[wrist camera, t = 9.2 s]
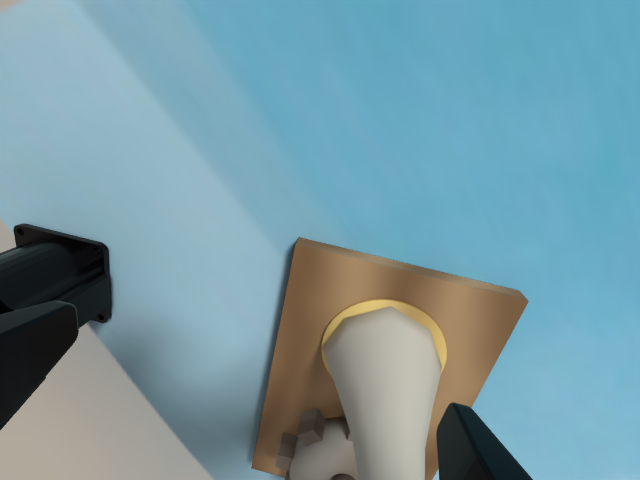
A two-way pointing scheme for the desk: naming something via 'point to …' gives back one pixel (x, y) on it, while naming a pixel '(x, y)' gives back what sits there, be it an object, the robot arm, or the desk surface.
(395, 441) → the flask
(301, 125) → the desk surface
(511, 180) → the desk surface
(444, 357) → the gear board
